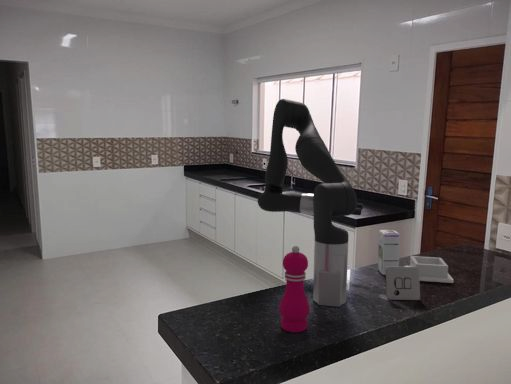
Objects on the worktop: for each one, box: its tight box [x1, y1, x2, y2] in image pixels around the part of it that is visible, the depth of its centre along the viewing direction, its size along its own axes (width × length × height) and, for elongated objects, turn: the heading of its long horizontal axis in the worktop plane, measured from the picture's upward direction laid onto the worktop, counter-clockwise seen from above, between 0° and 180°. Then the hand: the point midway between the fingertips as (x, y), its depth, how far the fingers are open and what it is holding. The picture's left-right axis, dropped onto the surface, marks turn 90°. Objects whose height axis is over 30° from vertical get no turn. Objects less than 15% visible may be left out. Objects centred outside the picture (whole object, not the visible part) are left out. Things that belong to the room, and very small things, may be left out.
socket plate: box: [404, 255, 454, 284], centre depth 140 cm, size 13×13×5 cm
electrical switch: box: [385, 266, 421, 301], centre depth 120 cm, size 9×5×9 cm, turn 88°
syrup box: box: [377, 229, 401, 276], centre depth 142 cm, size 6×6×14 cm
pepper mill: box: [278, 245, 310, 333], centre depth 100 cm, size 7×7×20 cm
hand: (362, 209), depth 141 cm, fingers open, 8 cm apart
